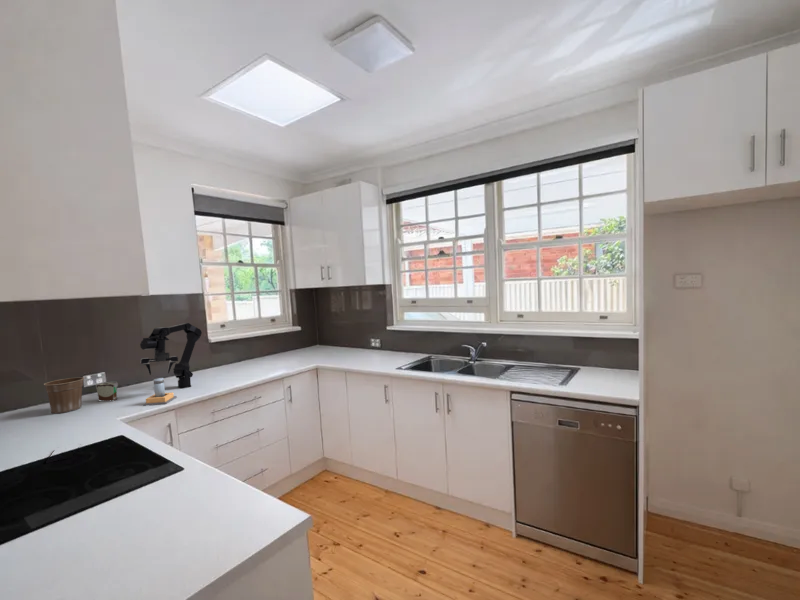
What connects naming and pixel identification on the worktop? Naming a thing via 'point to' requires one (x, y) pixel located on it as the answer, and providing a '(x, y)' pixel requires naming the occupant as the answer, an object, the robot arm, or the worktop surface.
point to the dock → (160, 399)
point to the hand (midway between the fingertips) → (159, 374)
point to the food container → (107, 391)
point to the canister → (159, 387)
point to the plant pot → (65, 394)
